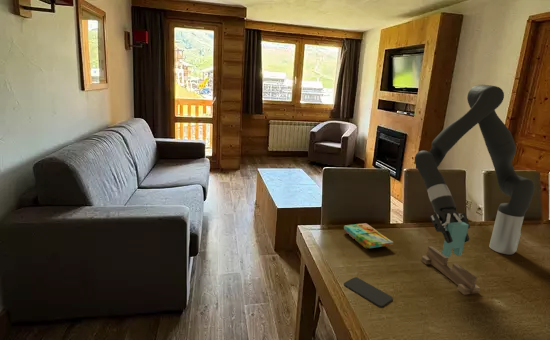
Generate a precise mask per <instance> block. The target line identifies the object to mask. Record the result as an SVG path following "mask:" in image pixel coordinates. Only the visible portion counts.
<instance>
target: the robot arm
mask: <svg viewBox="0 0 550 340" xmlns="http://www.w3.org/2000/svg"><path fill="white" fill-rule="evenodd" d="M504 97H505V92H504V91H503V89H502V88H501V87H499V86H497V85H488V84H477V85H473V86H472V87H470V89H469V90H468V93H467V103H468V106H469V108H470V109H469V110H468V111H467V112H466V113H464V114H463V115H462V116H461V117H459V118H458V119H456V120H455V121H452V122H451V123H450V124H448V125H447V126H446V127H445V128H443V129H442V130H441V132H440V133H439V134H438V135H437V136H435V138H433V140H432V141H431V148H430V149H429V150H428V151H427V150H420V151H418V152H417V153H416V154H415V156H414V164H415V166H416V169H417V170H418V172H419V174H420V176H421V179H423V180H422V181H423V182H424V186H425V188H426V191H427V194H428V199H429V202H430V203H431V206H432V209H433V211H434V213H433V214H432V215H430V216H429V219H430V220H431V224H432V225H433V227H434V229H435V231H436V232H440V233H442V236H443V238H444V241H446V242H447V243H451V242H453V240H452V237H451V235H450V233H449V231H448V223H454V222H464V223H466V224H468V225H469V226H468V230H469V229H470V228H471V226H470V222H469V219H468V217H467V214H466V212H462V213H459V212H458V211H457V210H456V209H457V205H456V202H455V200H454V198H453V196H452V193H451V191H450V189H449V187H448V185H447V183H446V181H445V178H444V177H443V174H442V173H441V172H440V170H439V169H438V167H439V166H440V165H441V163H442V162H443V160H444V159H445V157H446V155H447V153H448V152H449V151H451V150H452V148H453V147H454V146H455V145H457V143H458V142H459V141H460V139H462V138H463V137H464V135H466V134H467V133H468V132H469V131H470V130H471V129H473V128H474V127H475V126H476V125H478V126H479V129H480V132H481V136H482V138H483V140H484V143H485V146H486V149H487V151H488V154H489V156H490V159H491V162H492V166H493V168H494V173H495V175H496V180H497V184H498V187H499V190H500V191H501V192H502V194H504V195H505V196H508V197H509V198H510V199H509V202H502V203H499V205H498V208H497V213H496V216H495V220H494V225H493V229H492V233H491V237H490V242H489V245H488V246H489V248H490V249H491V250H492V251H495V252H496V253H499V254H504V255H514V254H515V253H516V252H518V251H517V249H518V246H519V243H520V238H521V234H522V231H521V229H522V226H523V221H524V219H525V214H526V212H527V211H528V210H529V208H530V206H531V205H530V204H531V203H532V200H533V196H534V193H535V183H534V181H533V180H532V179H530V178H528V177H523V176H521V175H518V174H517V173H516V170H515V168H514V166H513V160H514V157H515V155H516V152H517V147H516V142H515V140H514V137H513V135H512V132H511V131H510V129H509V128H508V127H507V125H506V124H505V123H504V121H502V120H501V118H500V117H499V116H498V114H497V113H496V109H498V108H499V107H500V105H502V103H503V101H504ZM469 241H470V237H469V235H468V233H467V234H466V238H465V243H467V242H469Z"/></svg>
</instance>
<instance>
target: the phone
mask: <svg viewBox="0 0 550 340" xmlns="http://www.w3.org/2000/svg"><path fill="white" fill-rule="evenodd" d="M343 285H344V287H345V288H347V289H349V290H351V291H352V292H354V293H356V294H357V295H359V296H361V297H362V298H364V300H366V301H368V302H369V303H372V304H374V306H377V307H379V308H384V307H385V306H387V305H388V304H390V303H391V302H392V301H393V299H394V297H392V296H391V295H390V294H388V293H386V292H385V291H383V290H380V289H379V288H377V287H375V286H374V285H372V284H370V283H368V282H366V281H365V280H362V278H359V277H352V278H349V280H347V281H345V282H344V283H343Z"/></svg>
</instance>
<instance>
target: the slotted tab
mask: <svg viewBox="0 0 550 340" xmlns="http://www.w3.org/2000/svg"><path fill="white" fill-rule="evenodd" d="M469 225H470V224H469ZM469 225H468V224H466V223H464V222H454V223H448V231H449V233H450V235H451V237H452V240H453V242H451V243H447V242H446V241H445V240H444V241H443V245H442V250H441V251H442V252H441V253H442V254H443V255H445V256H446V257H448V258H450V257H451V255H452V253H453V254H454V255H456V256H457V257H460V256H461V257H462V256H463V255H462V254H463V251H464V246H465V244H466V242H465V238H466V234H468V230H469V229H468V226H469Z"/></svg>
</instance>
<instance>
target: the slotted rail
mask: <svg viewBox="0 0 550 340" xmlns="http://www.w3.org/2000/svg"><path fill="white" fill-rule="evenodd" d="M426 252H427V253H426V255H421V259H420V261H421V262H422V263H424V265H426V266H427V265H431V266H433V267H434V268H435V269H436V270H437V271H438V272H440V273H441V274H442V275H444V276H446V277H447V278H449V280H451V282H453V283H454V284H455V285H457V288H456V290H458V292H460V293H461V294H463V295H464V296H465V295H471V294H472V295H474V294H479V293H480V290H481V288H480V286H479V285H477V280H478V278H477V277H476V276H475V275H473V274H472V273H471V272H469V271H468V270H467V269H465V268H464V267H462V266H461V265H459V264H458V263H452V266H451V267H450V266H449V265H448V264H449V263H448V262H449V257H446V256H445V255H443V254H442V252H441V251H439V250H438V249H437V248H435V247H433V245H432V246H431V245H430V246H429V245H428V247H427V251H426Z"/></svg>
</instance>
